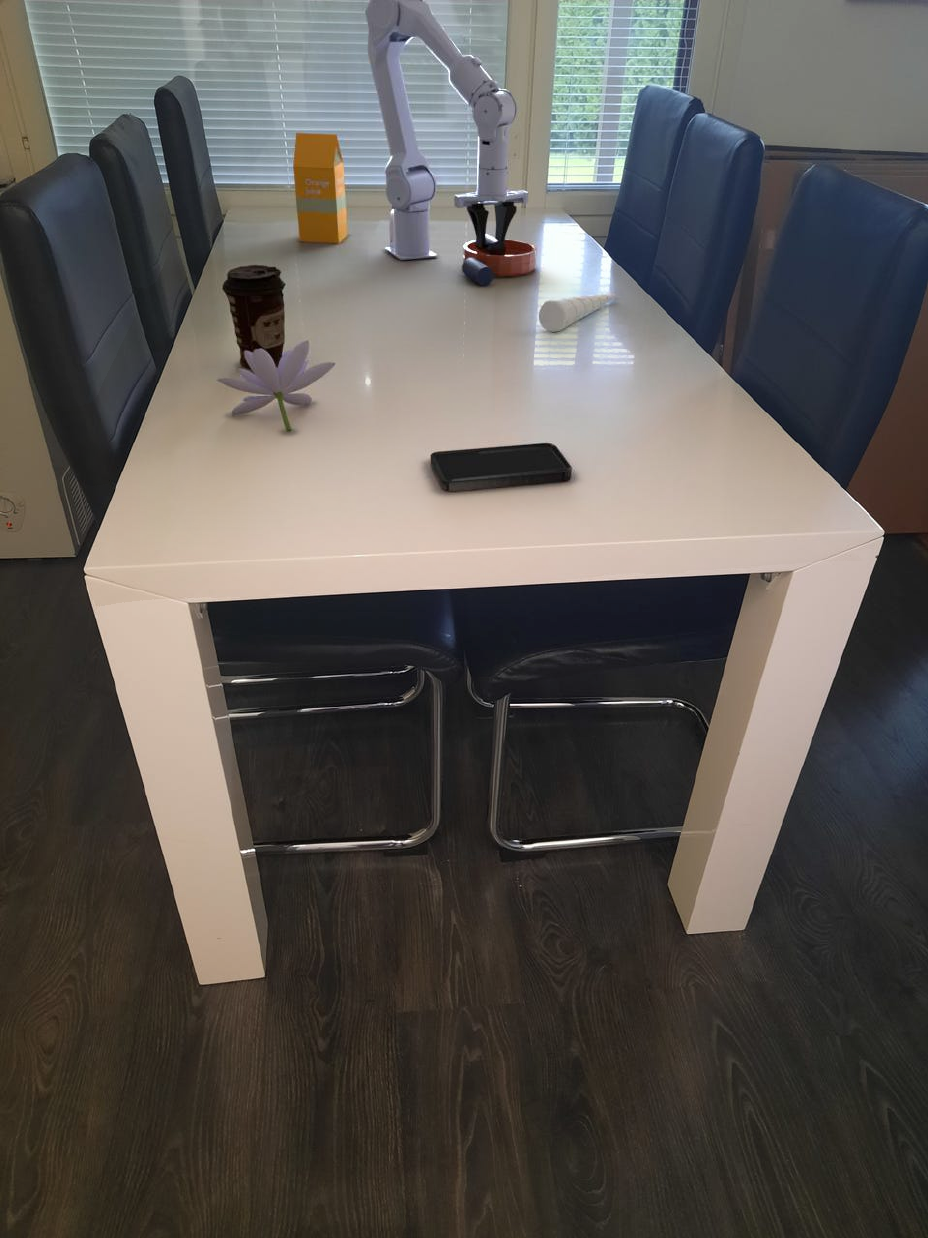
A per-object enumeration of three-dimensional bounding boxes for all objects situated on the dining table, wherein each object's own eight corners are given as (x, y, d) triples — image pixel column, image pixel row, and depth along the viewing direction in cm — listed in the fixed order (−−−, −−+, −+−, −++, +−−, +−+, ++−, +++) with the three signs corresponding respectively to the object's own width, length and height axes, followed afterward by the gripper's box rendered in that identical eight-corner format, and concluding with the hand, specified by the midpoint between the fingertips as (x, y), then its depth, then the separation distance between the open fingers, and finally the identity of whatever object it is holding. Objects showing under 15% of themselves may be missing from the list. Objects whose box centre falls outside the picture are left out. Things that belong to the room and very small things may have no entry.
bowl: (452, 262, 172) (452, 241, 170) (515, 256, 177) (516, 236, 174) (481, 280, 162) (482, 258, 159) (547, 274, 166) (549, 252, 164)
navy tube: (461, 258, 161) (478, 256, 162) (462, 277, 164) (478, 274, 165) (476, 268, 156) (493, 265, 157) (477, 287, 158) (493, 284, 159)
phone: (574, 471, 95) (442, 482, 92) (573, 480, 96) (442, 492, 93) (552, 441, 101) (428, 451, 98) (551, 450, 102) (428, 460, 99)
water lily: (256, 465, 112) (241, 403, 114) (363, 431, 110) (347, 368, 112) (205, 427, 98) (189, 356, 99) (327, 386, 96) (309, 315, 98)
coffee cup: (305, 359, 125) (296, 266, 117) (277, 379, 119) (266, 281, 111) (252, 352, 127) (240, 260, 120) (222, 370, 121) (207, 274, 113)
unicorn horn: (632, 302, 152) (636, 274, 149) (560, 335, 137) (563, 305, 134) (609, 297, 154) (612, 269, 151) (536, 329, 139) (538, 299, 136)
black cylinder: (474, 251, 169) (475, 233, 167) (490, 250, 170) (490, 231, 168) (489, 260, 164) (490, 241, 162) (505, 258, 165) (506, 239, 163)
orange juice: (309, 233, 190) (301, 130, 178) (348, 235, 189) (342, 132, 178) (299, 241, 184) (289, 135, 172) (339, 243, 183) (332, 137, 171)
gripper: (465, 172, 152) (464, 253, 161) (537, 168, 157) (532, 247, 165) (450, 166, 158) (449, 244, 166) (520, 162, 163) (516, 239, 171)
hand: (490, 245), depth 166 cm, fingers closed on black cylinder, 3 cm apart
